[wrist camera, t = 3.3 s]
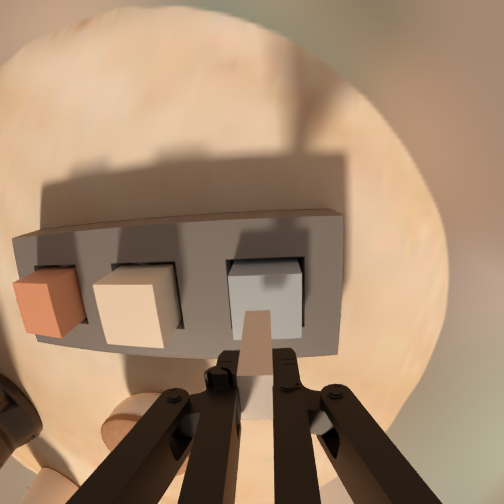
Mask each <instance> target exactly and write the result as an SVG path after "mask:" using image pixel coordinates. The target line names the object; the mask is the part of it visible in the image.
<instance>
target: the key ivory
mask: <svg viewBox="0 0 504 504" xmlns="http://www.w3.org/2000/svg"><path fill="white" fill-rule="evenodd" d="M93 289H94V293H95V298H96V302H97V307H98V311H99V315H100V319H101V323H102V327H103V330H104V334H105V338H106V341H107V344H113V345H124V346H136V347H151V348H165V346H166V344H167V343H168V341H169V339H170V338H171V336H172V334H173V332H174V331H175V329H176V327H177V326H178V324H179V322H180V321H181V312H180V306H179V299H178V292H177V285H176V278H175V270H174V264H162V265H129V266H120V267H119V268H117V269H116V270H114V271H112V272H111V273H109V274H108V275H106V276H105V277H103V278H102V279H100V280H99V281H97V282H96V283H94V284H93Z"/></svg>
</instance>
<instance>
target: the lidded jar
mask: <svg viewBox="0 0 504 504" xmlns="http://www.w3.org/2000/svg"><path fill="white" fill-rule="evenodd" d="M161 394H162V393H158V392H150V393H139V394H135V395H132V396H130V397H128V398H126V399H125V400H123V401H122V402H121V403H120V404H118V406H117V407H116V408H115V409H114V410H113V412H112V413H111V414H110V416H109V417H108V418H107V419H106V421H105V422H104V424H103V425H102V428H101V435H102V439H103V441H104V443H105V445H106V446H107V448H108V449H109V450H110V451H111V452H112V451H113V449H114V448H115V447H116V446H117V445H118V444H119V443H120V441H121V440H122V439H123V438H124V437H125V436H126V435H127V433H128V432H129V431H130V430H131V429H132V428H133V426H134V425H135V424H136V423H137V422H138V421H139V419H140V418H141V417H142V416H143V415H144V414H145V412H146V411H147V410H148V409H149V408H150V407H151V405H152V404H153V403H154V402H155V401H156V400H157V398H158V397H159V396H160V395H161ZM189 455H190V453H189ZM189 455H188V456H187V458H186V460H185V461H184V463H183V465H182V466H181V468H180V469H179V471H178V473H177V474H176V476H177V475H180V474H182V473H184V472H185V471H186V467H187V463H188V459H189Z"/></svg>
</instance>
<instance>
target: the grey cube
mask: <svg viewBox="0 0 504 504" xmlns="http://www.w3.org/2000/svg"><path fill="white" fill-rule="evenodd" d="M228 284H229V295H230V307H231V318H232V329H233V339H234V340H241V339H242V332H243V325H244V317H245V311H259V310H270V317H271V338H272V339H293V338H301V337H302V272H301V270H300V267H299V264H298V261H297V258H296V257H276V258H251V259H235V260H234V263H233V265H232V268H231V270H230V272H229V275H228Z"/></svg>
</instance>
